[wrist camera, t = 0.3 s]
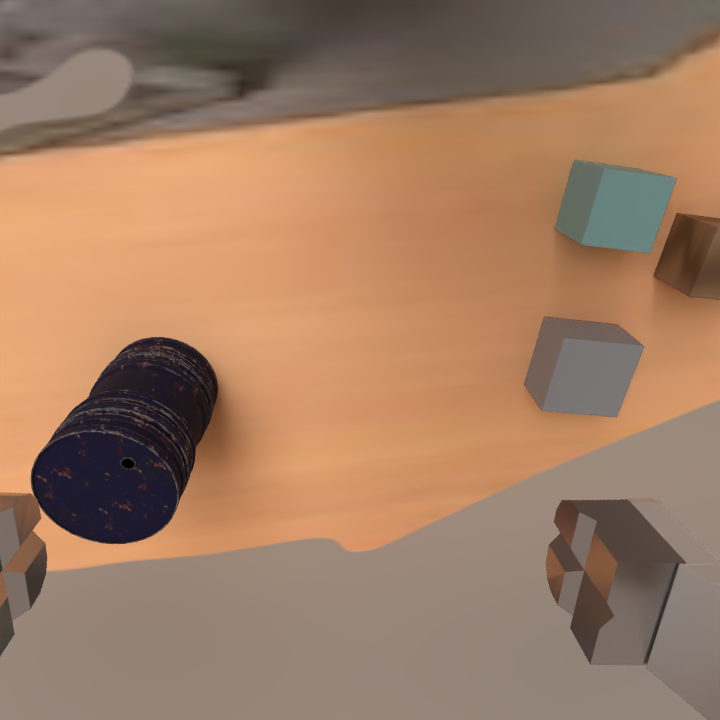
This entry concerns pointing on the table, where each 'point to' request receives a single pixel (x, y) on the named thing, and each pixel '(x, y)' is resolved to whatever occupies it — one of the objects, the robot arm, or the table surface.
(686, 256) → the walnut cube
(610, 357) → the grey base block
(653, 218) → the teal cube
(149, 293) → the table surface
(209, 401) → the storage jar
